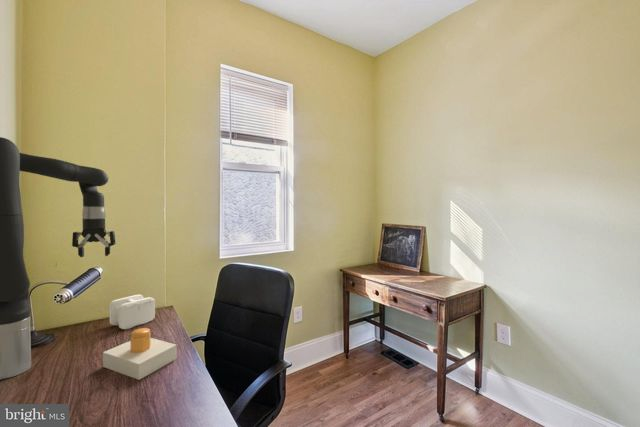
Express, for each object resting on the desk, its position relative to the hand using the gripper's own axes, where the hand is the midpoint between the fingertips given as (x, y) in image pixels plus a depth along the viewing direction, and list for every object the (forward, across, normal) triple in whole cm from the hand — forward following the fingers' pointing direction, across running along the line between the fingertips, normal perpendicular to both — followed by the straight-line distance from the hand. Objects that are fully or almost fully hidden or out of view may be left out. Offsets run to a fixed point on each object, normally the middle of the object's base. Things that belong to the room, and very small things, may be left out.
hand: (94, 256), depth 123 cm
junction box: (+33, +22, -32) cm, 51 cm away
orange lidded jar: (+28, +22, -32) cm, 48 cm away
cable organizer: (+33, +12, +8) cm, 36 cm away
